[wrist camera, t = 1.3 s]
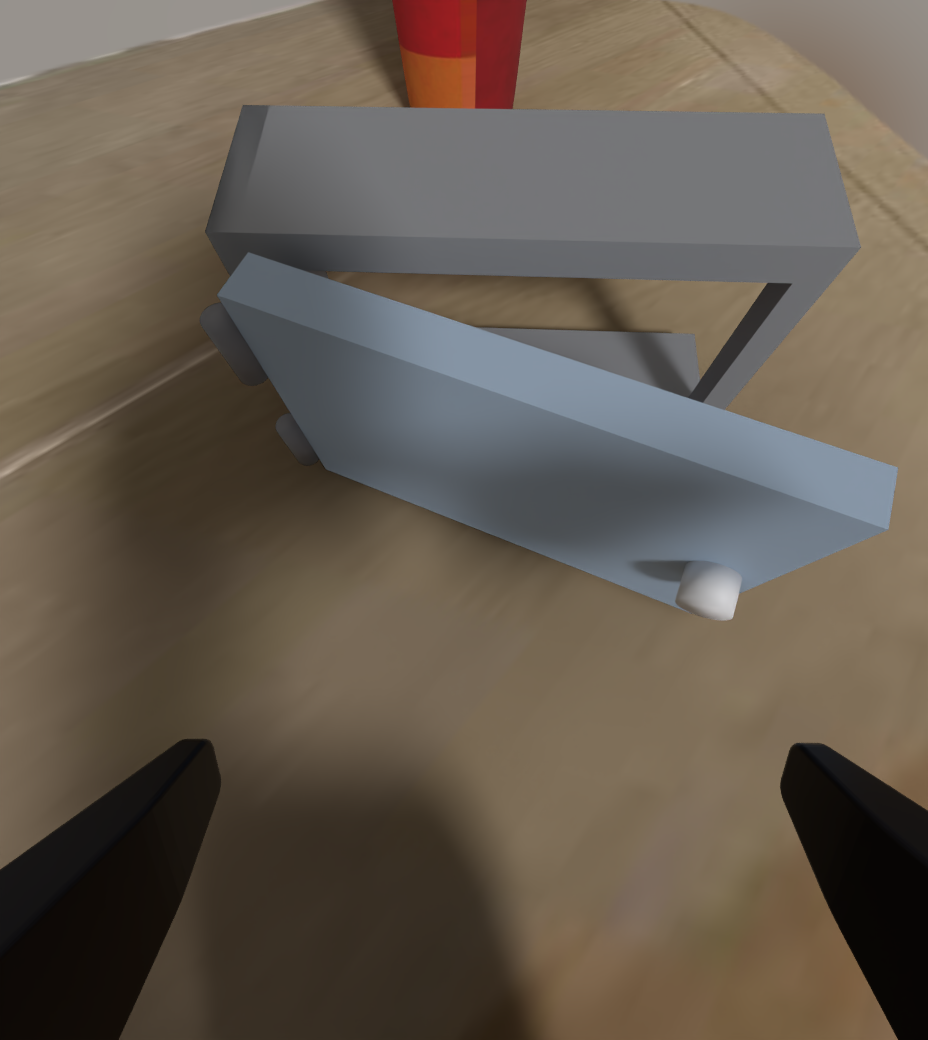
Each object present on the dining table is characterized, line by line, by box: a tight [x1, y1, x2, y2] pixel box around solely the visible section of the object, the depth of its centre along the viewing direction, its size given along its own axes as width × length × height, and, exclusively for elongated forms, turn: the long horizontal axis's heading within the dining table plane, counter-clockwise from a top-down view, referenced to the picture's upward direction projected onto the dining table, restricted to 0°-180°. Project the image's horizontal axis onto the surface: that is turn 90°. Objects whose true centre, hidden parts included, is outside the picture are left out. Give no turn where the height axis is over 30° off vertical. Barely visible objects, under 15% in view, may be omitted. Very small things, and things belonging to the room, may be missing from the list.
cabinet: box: [205, 105, 861, 410], centre depth 19 cm, size 5×17×10 cm, turn 87°
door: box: [200, 252, 898, 620], centre depth 16 cm, size 3×17×10 cm, turn 67°
